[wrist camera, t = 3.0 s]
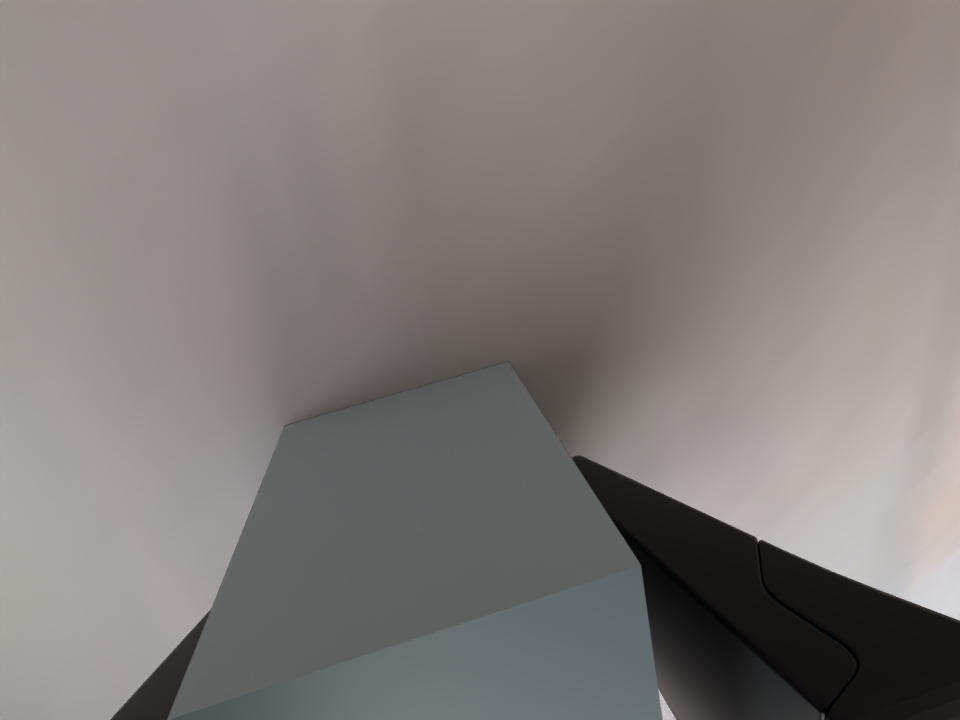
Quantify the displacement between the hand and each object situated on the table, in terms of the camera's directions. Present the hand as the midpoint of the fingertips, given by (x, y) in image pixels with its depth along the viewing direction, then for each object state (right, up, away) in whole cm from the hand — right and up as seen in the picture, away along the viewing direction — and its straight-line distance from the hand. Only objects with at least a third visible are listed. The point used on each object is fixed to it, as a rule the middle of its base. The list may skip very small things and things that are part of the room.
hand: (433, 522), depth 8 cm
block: (0, 0, +1) cm, 1 cm away
